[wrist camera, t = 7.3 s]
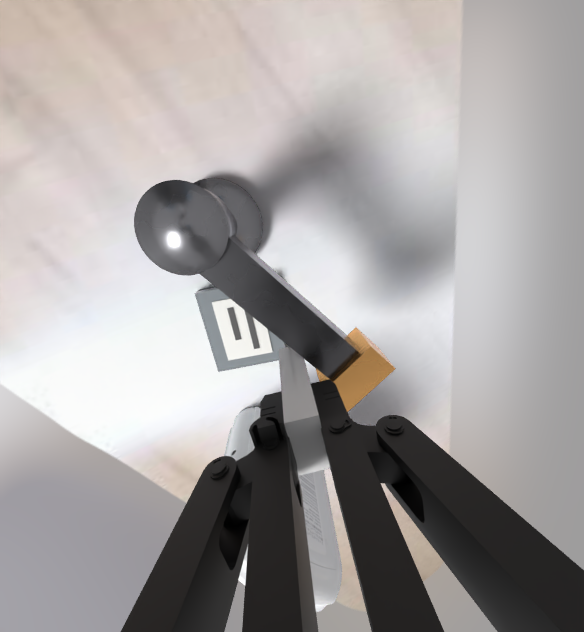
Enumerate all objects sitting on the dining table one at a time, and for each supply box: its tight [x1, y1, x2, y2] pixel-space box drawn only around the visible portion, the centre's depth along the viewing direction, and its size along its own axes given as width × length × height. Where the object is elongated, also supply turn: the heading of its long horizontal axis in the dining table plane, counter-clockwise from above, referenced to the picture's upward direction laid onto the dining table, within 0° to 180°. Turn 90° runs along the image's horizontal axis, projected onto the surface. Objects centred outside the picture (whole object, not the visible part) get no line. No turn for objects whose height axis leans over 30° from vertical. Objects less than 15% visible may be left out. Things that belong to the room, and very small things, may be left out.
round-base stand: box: [193, 178, 263, 253], centre depth 18 cm, size 6×6×7 cm
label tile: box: [195, 287, 286, 372], centre depth 23 cm, size 7×6×1 cm
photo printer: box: [224, 407, 342, 612], centre depth 22 cm, size 10×4×12 cm, turn 44°
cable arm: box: [134, 180, 395, 412], centre depth 15 cm, size 14×4×3 cm, turn 47°
